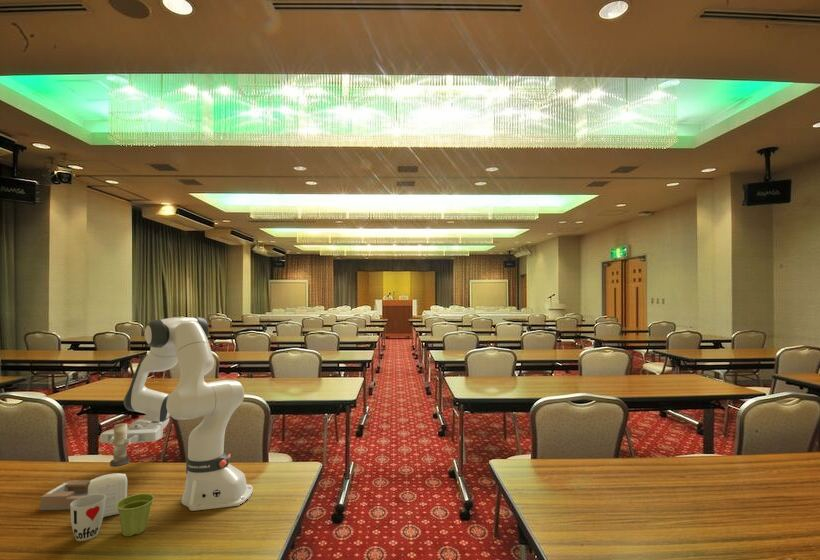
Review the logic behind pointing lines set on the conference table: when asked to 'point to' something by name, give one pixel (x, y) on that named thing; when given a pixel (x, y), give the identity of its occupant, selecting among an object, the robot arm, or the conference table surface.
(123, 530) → the plant pot
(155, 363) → the robot arm
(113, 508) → the photo printer
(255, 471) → the conference table surface
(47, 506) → the keyhole dock
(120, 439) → the beige tall cylinder
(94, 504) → the cup
